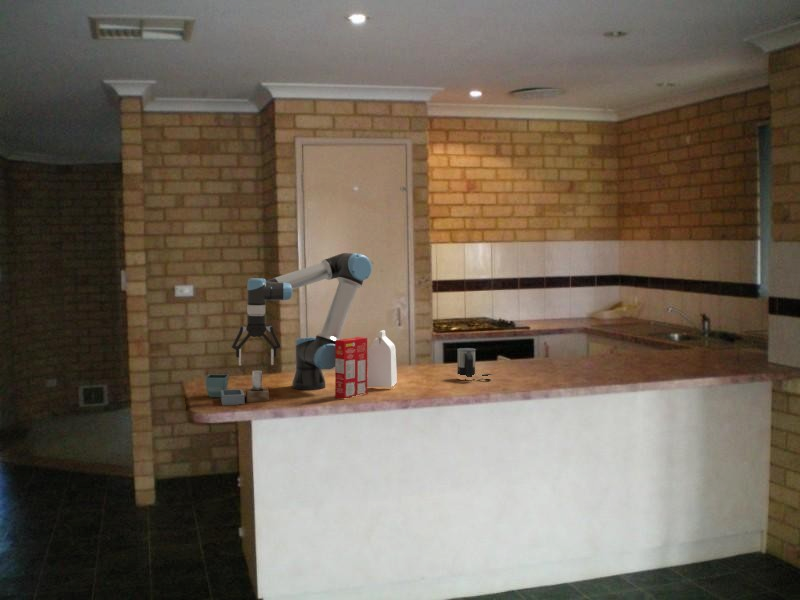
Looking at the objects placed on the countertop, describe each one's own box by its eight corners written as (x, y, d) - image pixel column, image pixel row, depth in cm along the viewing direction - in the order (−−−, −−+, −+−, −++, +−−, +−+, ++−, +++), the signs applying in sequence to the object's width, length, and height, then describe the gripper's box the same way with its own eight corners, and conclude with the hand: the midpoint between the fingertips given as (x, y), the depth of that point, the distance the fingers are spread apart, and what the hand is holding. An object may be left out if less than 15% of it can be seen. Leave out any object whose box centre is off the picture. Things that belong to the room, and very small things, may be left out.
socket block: (266, 396, 366) (266, 387, 366) (268, 400, 358) (268, 391, 357) (245, 397, 364) (245, 388, 364) (247, 401, 355) (247, 392, 355)
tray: (242, 398, 363) (242, 389, 362) (244, 404, 350) (244, 394, 350) (220, 399, 360) (220, 389, 360) (222, 405, 348) (222, 395, 348)
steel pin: (261, 398, 363) (261, 370, 362) (262, 399, 359) (262, 372, 358) (252, 398, 362) (251, 370, 361) (252, 400, 358) (252, 372, 357)
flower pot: (229, 394, 371) (228, 374, 370) (225, 398, 362) (225, 377, 361) (208, 394, 370) (208, 374, 370) (204, 398, 362) (204, 377, 361)
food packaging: (358, 392, 376) (358, 337, 374) (367, 394, 373) (367, 338, 371) (335, 397, 365) (335, 340, 363) (344, 399, 362) (344, 341, 360)
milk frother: (453, 378, 415) (453, 348, 414) (481, 376, 421) (481, 346, 420) (467, 383, 402) (467, 352, 401) (496, 380, 408) (496, 350, 407)
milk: (391, 389, 384) (391, 332, 382) (367, 388, 386) (367, 332, 384) (397, 385, 396) (397, 329, 393) (373, 384, 398) (373, 329, 396)
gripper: (284, 313, 365) (284, 362, 366) (225, 314, 358) (225, 363, 360) (287, 315, 357) (286, 365, 359) (226, 315, 351) (226, 366, 353)
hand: (256, 364), depth 359 cm, fingers open, 13 cm apart
